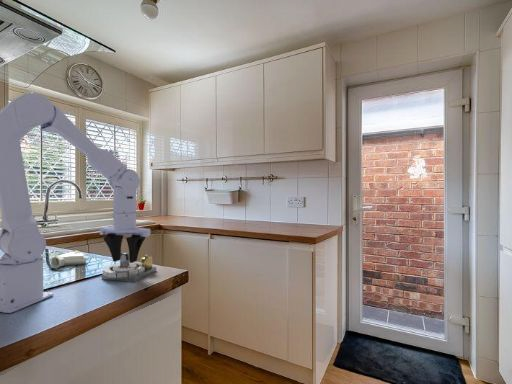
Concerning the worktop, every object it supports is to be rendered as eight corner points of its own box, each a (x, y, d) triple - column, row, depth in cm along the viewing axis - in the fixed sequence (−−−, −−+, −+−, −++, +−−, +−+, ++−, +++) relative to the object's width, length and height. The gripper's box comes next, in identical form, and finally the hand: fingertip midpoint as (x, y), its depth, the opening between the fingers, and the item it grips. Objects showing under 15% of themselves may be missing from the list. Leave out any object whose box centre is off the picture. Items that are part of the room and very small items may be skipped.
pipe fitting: (89, 264, 91) (72, 261, 92) (90, 252, 91) (73, 249, 92) (68, 271, 83) (50, 267, 85) (69, 258, 83) (50, 255, 84)
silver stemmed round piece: (125, 275, 74) (125, 257, 74) (107, 273, 76) (107, 255, 76) (141, 269, 80) (141, 252, 80) (124, 267, 82) (124, 250, 81)
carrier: (132, 283, 72) (132, 264, 71) (94, 280, 74) (94, 261, 74) (156, 270, 82) (156, 253, 82) (122, 268, 85) (122, 251, 85)
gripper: (156, 211, 80) (156, 259, 80) (112, 210, 83) (112, 256, 83) (141, 214, 73) (141, 266, 73) (93, 212, 76) (94, 262, 76)
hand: (124, 261), depth 78 cm, fingers open, 5 cm apart
